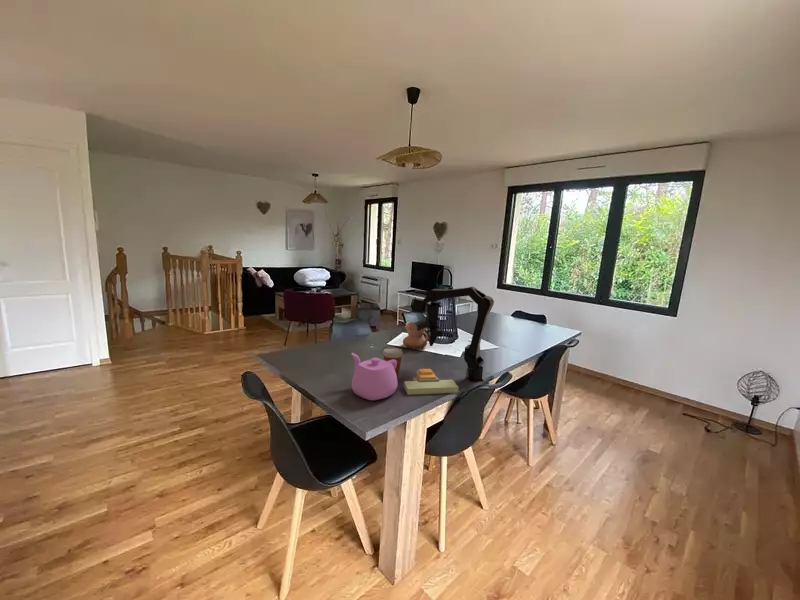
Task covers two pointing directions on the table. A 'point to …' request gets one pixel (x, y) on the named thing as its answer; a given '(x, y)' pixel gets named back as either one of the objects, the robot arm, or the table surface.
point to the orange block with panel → (425, 374)
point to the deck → (430, 386)
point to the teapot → (374, 378)
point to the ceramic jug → (415, 337)
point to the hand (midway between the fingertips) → (430, 345)
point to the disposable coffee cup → (393, 357)
